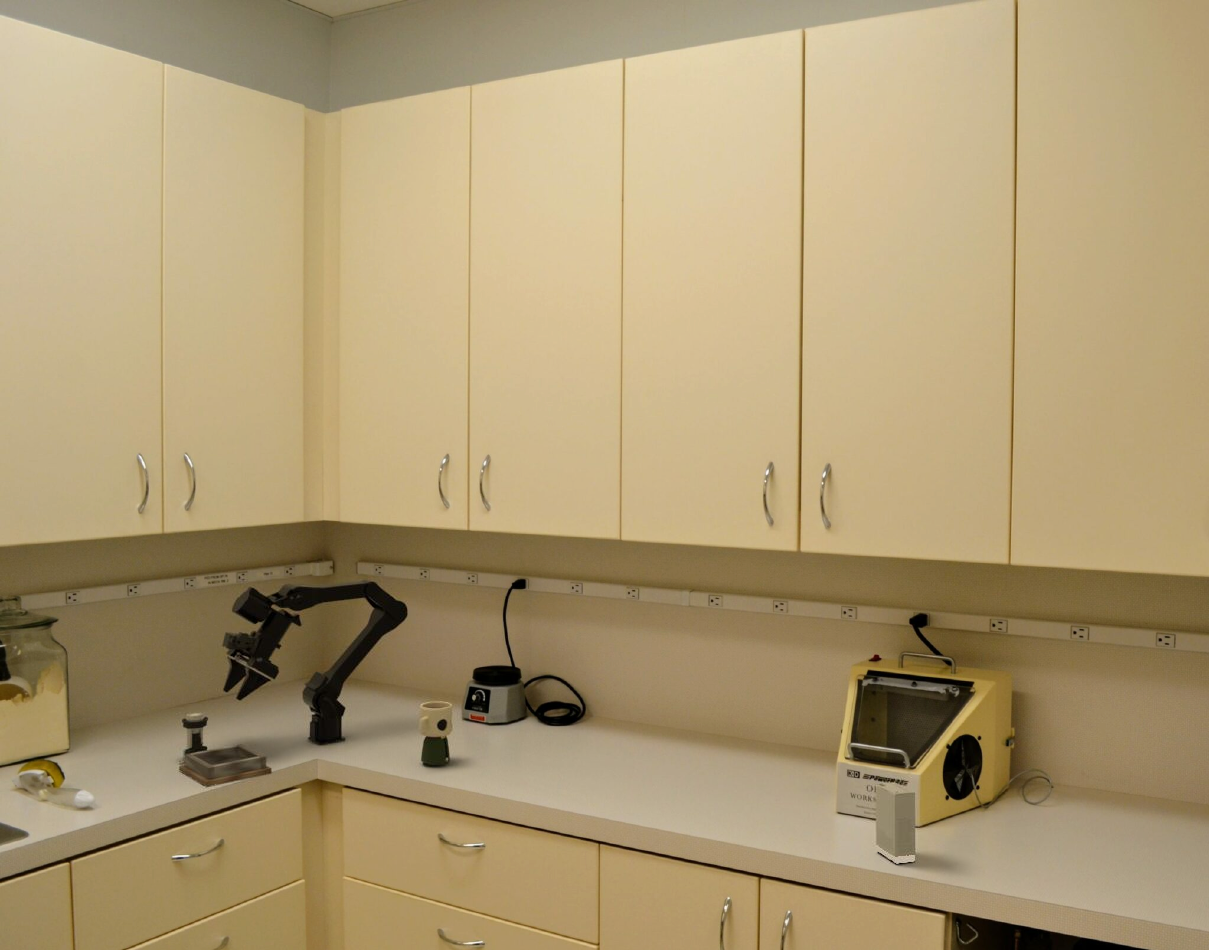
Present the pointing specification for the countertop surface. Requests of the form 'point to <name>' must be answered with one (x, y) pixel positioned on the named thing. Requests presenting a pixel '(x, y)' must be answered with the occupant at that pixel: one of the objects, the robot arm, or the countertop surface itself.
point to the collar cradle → (224, 765)
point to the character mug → (435, 731)
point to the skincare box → (895, 819)
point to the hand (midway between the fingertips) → (231, 695)
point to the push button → (194, 733)
